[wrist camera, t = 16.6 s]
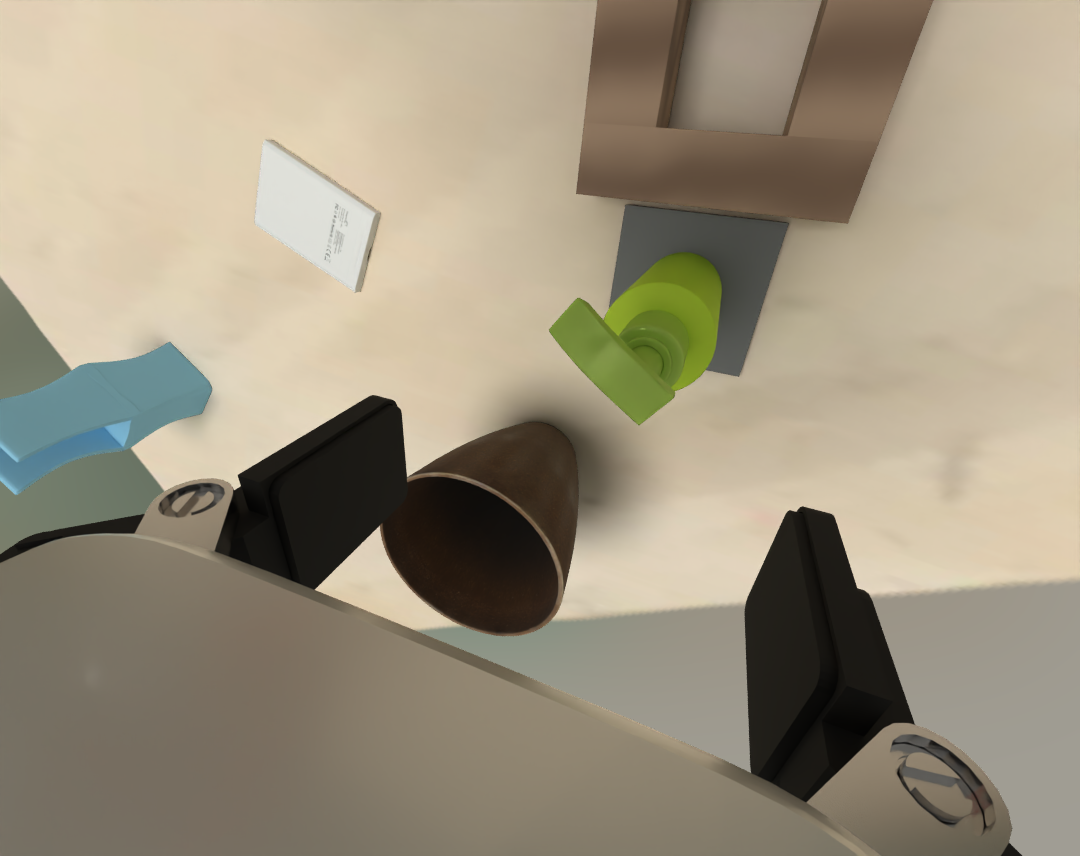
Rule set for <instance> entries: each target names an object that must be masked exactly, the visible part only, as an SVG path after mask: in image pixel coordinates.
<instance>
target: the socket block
mask: <svg viewBox="0 0 1080 856" xmlns="http://www.w3.org/2000/svg"><path fill="white" fill-rule="evenodd" d="M932 2H933V0H822V2H821V5H820V9H819V12H818V15H817V19H816V22H815V26H814V29H813V33H812V36H811V39H810V43H809V46H808V50H807V53H806V56H805V60H804V63H803V67H802V70H801V74H800V77H799V80H798V84H797V87H796V91H795V94H794V98H793V101H792V104H791V108H790V111H789V115H788V118H787V121H786V125H785V128H784V132H783V135H782V136H781V135H766V134H750V133H735V132H720V131H704V130H689V129H673V128H668V124H669V118H670V113H671V107H672V102H673V97H674V91H675V86H676V81H677V75H678V70H679V65H680V59H681V54H682V49H683V43H684V38H685V33H686V27H687V22H688V17H689V11H690V6H691V0H598V2H597V11H596V20H595V29H594V38H593V47H592V56H591V65H590V74H589V83H588V92H587V101H586V110H585V119H584V128H583V137H582V146H581V155H580V164H579V173H578V182H577V191H576V194H583V195H592V196H601V197H610V198H619V199H629V200H638V201H647V202H656V203H665V204H674V205H683V206H692V207H702V208H711V209H720V210H729V211H738V212H747V213H756V214H765V215H774V216H784V217H793V218H802V219H811V220H820V221H829V222H838V223H847V224H848V222H849V219H850V216H851V214H852V211H853V209H854V206H855V203H856V201H857V198H858V196H859V193H860V190H861V188H862V185H863V182H864V180H865V177H866V175H867V172H868V169H869V167H870V164H871V161H872V159H873V156H874V154H875V151H876V148H877V146H878V143H879V141H880V138H881V135H882V133H883V130H884V127H885V125H886V122H887V120H888V117H889V114H890V112H891V109H892V107H893V104H894V101H895V99H896V96H897V93H898V91H899V88H900V86H901V83H902V80H903V78H904V75H905V73H906V70H907V67H908V65H909V62H910V59H911V57H912V54H913V52H914V49H915V46H916V44H917V41H918V38H919V36H920V33H921V31H922V28H923V25H924V23H925V20H926V18H927V15H928V12H929V10H930V7H931V4H932Z"/></svg>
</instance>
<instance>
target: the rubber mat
mask: <svg viewBox="0 0 1080 856" xmlns="http://www.w3.org/2000/svg"><path fill="white" fill-rule="evenodd" d="M788 224H789V223H786V222H777V221H768V220H759V219H750V218H742V217H733V216H724V215H715V214H706V213H697V212H688V211H680V210H671V209H662V208H653V207H644V206H635V205H625V211H624V217H623V224H622V230H621V236H620V242H619V249H618V255H617V261H616V267H615V274H614V280H613V286H612V292H611V299H610V305H609V308H610V307H611V306H612V304H613V303H614V302H615V301H616V300H617V299H618V298H619V297H620V296H621V295H622V294H623V293H624V292H625V291H626V290H627V289H628V288H629V287H630V286H631V285H633V284H634V283H635V282H636V281H637V280H638V279H639V278H640V277H641V276H642V275H643V274H644V273H645V272H646V271H647V270H649V269H650V268H651V267H652V266H653V265H654V264H655V263H656V262H657V261H659V260H660V259H662V258H663V257H665V256H668V255H670V254H674V253H679V252H689V253H694V254H697V255H700V256H702V257H704V258H705V259H707V260H708V261H709V262H710V263H711V264H712V265H713V266H714V267H715V269H716V270H717V272H718V274H719V277H720V280H721V285H722V294H721V303H720V313H719V322H718V332H717V341H716V348H715V352H714V355H713V358H712V360H711V362H710V364H709V365H708V367H707V369H706V370H708V371H713V372H718V373H723V374H728V375H733V376H738V377H739V375H740V372H741V369H742V366H743V363H744V360H745V357H746V354H747V351H748V348H749V344H750V341H751V338H752V335H753V332H754V329H755V326H756V323H757V320H758V317H759V314H760V311H761V307H762V304H763V301H764V298H765V295H766V292H767V289H768V286H769V283H770V280H771V277H772V273H773V270H774V267H775V264H776V261H777V258H778V255H779V252H780V249H781V246H782V243H783V239H784V236H785V233H786V230H787V227H788Z"/></svg>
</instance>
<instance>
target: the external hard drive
mask: <svg viewBox="0 0 1080 856" xmlns="http://www.w3.org/2000/svg"><path fill="white" fill-rule="evenodd" d="M380 215H381V213H380V212H379V211H377V210H376V209H374V208H373V207H371V206H370V205H368V204H367V203H365V202H364V201H362V200H361V199H359V198H358V197H356V196H355V195H353V194H352V193H351V192H349V191H348V190H346V189H345V188H343V187H342V186H340V185H339V184H337V183H336V182H334V181H333V180H331V179H330V178H328V177H327V176H325V175H324V174H322V173H321V172H319V171H318V170H316V169H315V168H313V167H312V166H310V165H309V164H307V163H306V162H304V161H303V160H301V159H300V158H298V157H297V156H295V155H294V154H292V153H291V152H289V151H288V150H286V149H285V148H283V147H282V146H280V145H279V144H277V143H276V142H274V141H273V140H264V142H263V146H262V154H261V163H260V173H259V182H258V191H257V201H256V209H255V221H254V222H255V225H256V226H258V227H259V228H261V229H262V230H264V231H265V232H266V233H268V234H270V235H271V236H272V237H274V238H275V239H277V240H278V241H280V242H281V243H283V244H284V245H286V246H287V247H289V248H290V249H292V250H293V251H295V252H296V253H298V254H299V255H301V256H302V257H303V258H305V259H306V260H308V261H309V262H311V263H312V264H314V265H315V266H317V267H318V268H320V269H321V270H323V271H324V272H326V273H327V274H329V275H330V276H332V277H333V278H335V279H336V280H337V281H339V282H340V283H342V284H343V285H345V286H346V287H348V288H349V289H351V290H352V291H354V292H355V293H356V292H360V291H361V288H362V284H363V280H364V276H365V272H366V268H367V264H368V260H367V258H368V254H369V250H370V248H371V247H372V245H373V241H374V238H375V234H376V230H377V226H378V222H379V219H380Z"/></svg>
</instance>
